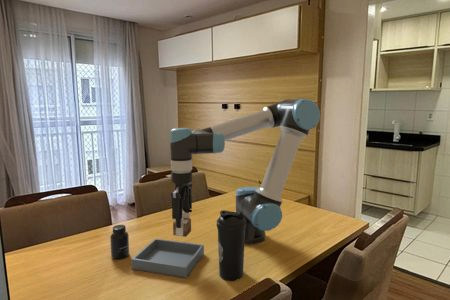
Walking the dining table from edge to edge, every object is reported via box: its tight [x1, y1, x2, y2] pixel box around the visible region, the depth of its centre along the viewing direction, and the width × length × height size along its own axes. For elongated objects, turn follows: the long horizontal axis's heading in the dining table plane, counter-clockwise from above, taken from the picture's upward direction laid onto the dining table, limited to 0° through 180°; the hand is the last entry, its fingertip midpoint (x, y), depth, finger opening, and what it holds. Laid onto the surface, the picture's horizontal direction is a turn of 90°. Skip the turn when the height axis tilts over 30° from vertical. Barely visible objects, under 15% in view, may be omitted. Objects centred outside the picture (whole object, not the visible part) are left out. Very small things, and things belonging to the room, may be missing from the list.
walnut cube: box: [172, 218, 192, 238], centre depth 111 cm, size 5×5×5 cm
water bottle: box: [216, 209, 246, 282], centre depth 104 cm, size 10×10×23 cm
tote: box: [130, 238, 205, 279], centre depth 114 cm, size 22×18×4 cm
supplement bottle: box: [110, 224, 130, 260], centre depth 119 cm, size 7×7×12 cm
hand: (183, 232), depth 111 cm, fingers closed on walnut cube, 5 cm apart
